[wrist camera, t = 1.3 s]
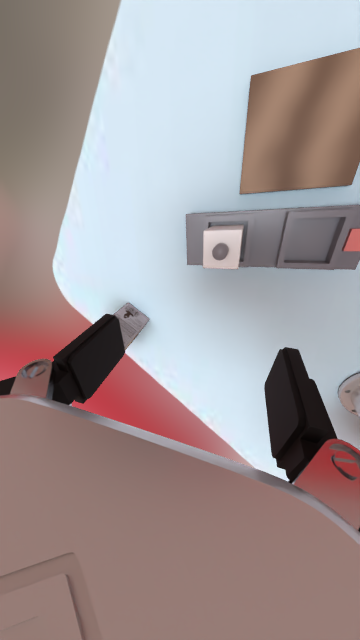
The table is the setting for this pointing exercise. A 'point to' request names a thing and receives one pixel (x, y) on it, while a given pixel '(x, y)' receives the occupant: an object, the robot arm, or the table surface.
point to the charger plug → (222, 246)
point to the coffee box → (130, 323)
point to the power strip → (286, 237)
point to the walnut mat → (303, 126)
